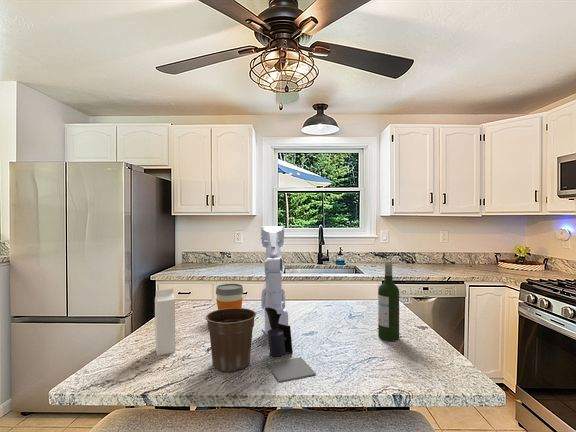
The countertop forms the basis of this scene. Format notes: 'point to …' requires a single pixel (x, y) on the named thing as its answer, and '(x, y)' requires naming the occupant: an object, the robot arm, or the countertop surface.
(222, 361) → the plant pot
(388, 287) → the wine bottle
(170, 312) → the milk
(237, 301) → the reusable coffee cup
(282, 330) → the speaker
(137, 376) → the countertop surface
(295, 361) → the mat
